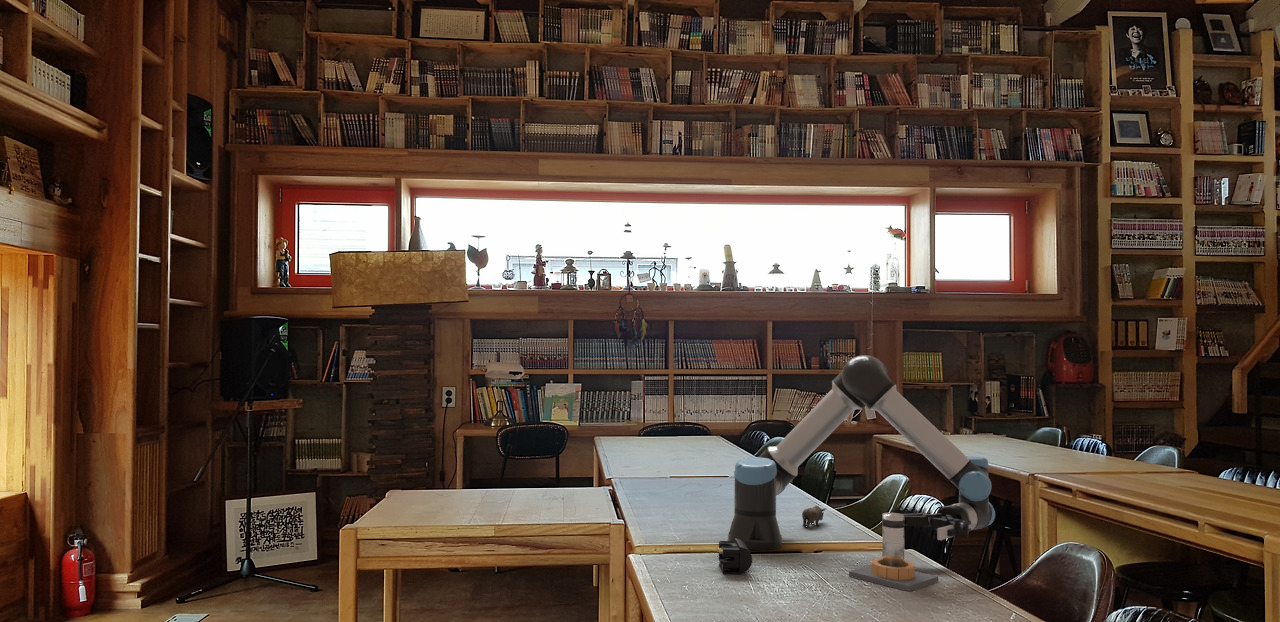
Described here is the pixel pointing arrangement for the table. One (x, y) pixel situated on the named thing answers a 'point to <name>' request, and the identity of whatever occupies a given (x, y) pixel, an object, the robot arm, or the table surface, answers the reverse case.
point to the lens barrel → (893, 539)
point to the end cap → (734, 557)
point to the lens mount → (894, 575)
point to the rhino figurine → (812, 516)
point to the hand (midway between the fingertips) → (912, 529)
